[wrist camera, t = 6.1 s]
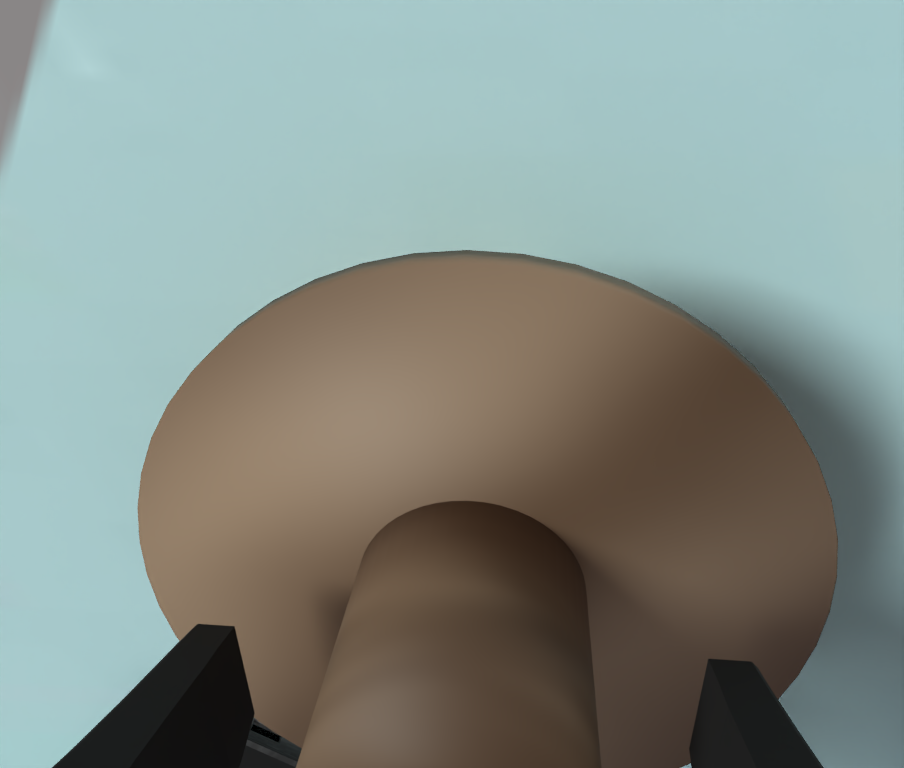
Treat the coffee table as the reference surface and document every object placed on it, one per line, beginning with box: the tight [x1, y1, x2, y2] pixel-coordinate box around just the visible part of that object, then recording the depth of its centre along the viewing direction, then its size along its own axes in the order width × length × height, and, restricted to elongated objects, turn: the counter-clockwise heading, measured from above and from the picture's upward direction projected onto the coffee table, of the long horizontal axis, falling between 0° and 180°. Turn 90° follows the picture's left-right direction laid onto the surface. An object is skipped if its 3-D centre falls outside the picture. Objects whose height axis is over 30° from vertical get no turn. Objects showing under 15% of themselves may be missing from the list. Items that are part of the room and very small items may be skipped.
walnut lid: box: [138, 250, 838, 768], centre depth 11 cm, size 12×12×5 cm
